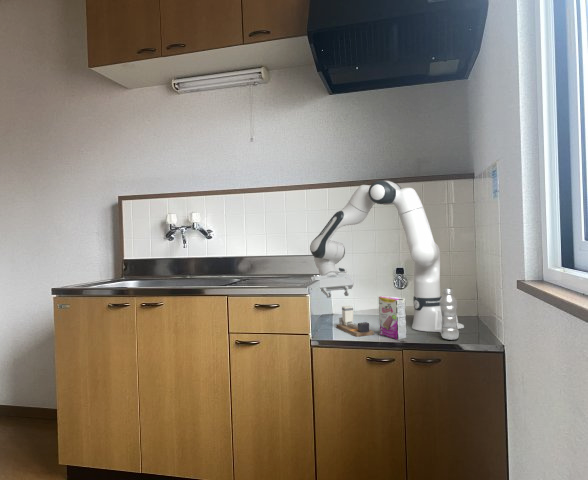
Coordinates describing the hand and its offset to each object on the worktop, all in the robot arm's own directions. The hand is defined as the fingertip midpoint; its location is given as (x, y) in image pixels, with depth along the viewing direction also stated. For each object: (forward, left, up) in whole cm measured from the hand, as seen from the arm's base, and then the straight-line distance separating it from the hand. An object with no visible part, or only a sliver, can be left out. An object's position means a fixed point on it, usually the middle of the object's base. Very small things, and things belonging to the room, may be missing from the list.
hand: (338, 296), depth 200 cm
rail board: (0, +16, -14) cm, 21 cm away
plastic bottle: (-26, +47, -14) cm, 55 cm away
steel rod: (0, +16, -12) cm, 20 cm away
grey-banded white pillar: (0, +10, -12) cm, 15 cm away
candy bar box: (-9, +33, -14) cm, 37 cm away
